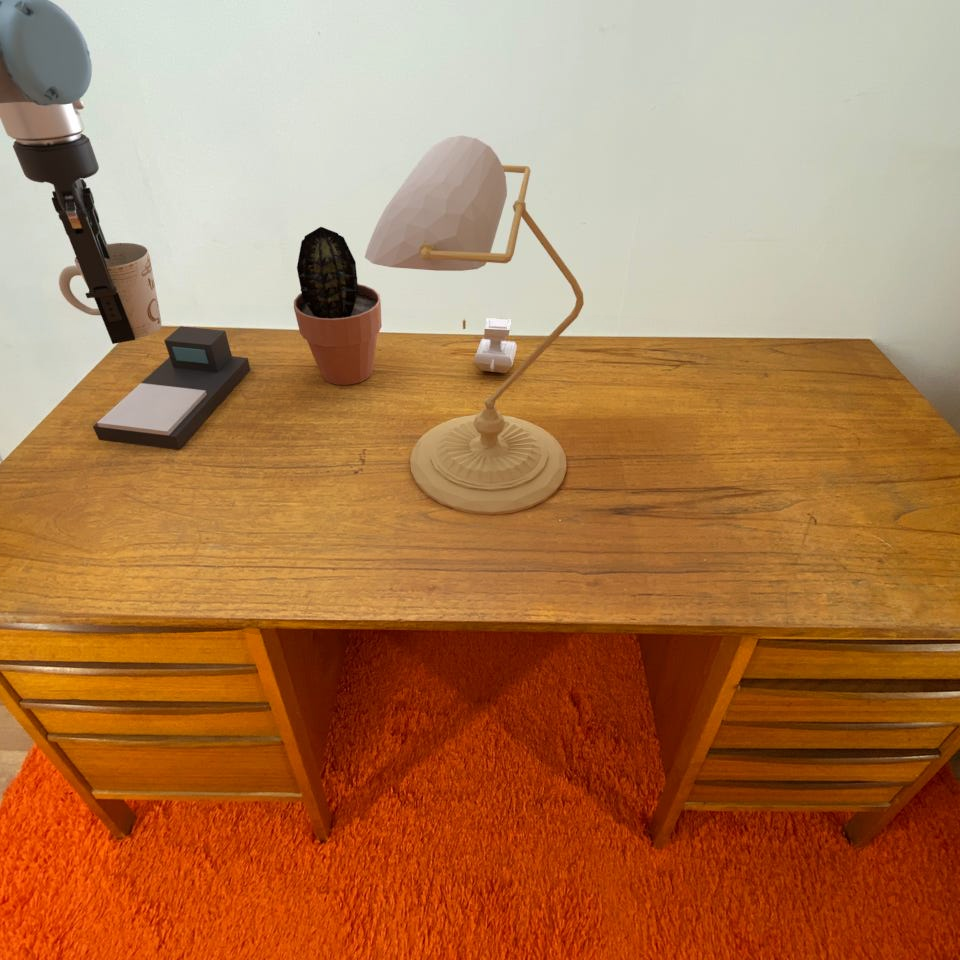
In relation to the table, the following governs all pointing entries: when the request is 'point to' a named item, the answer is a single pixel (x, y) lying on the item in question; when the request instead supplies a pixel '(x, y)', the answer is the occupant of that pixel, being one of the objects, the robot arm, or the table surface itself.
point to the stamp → (496, 347)
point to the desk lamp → (457, 247)
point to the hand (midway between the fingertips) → (122, 328)
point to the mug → (124, 286)
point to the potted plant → (336, 309)
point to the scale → (177, 392)
